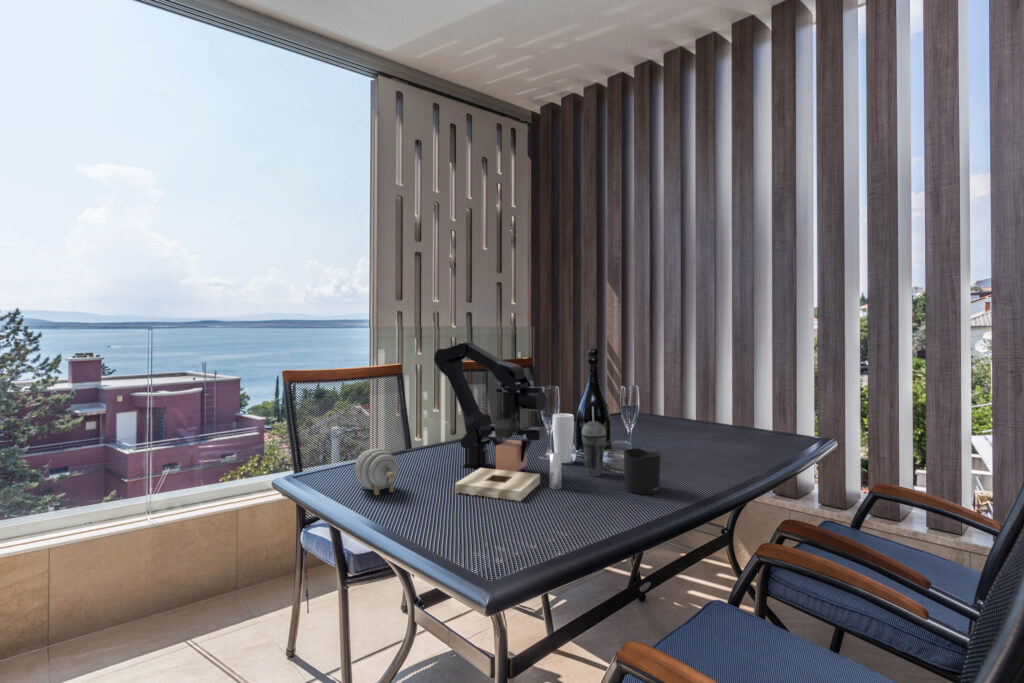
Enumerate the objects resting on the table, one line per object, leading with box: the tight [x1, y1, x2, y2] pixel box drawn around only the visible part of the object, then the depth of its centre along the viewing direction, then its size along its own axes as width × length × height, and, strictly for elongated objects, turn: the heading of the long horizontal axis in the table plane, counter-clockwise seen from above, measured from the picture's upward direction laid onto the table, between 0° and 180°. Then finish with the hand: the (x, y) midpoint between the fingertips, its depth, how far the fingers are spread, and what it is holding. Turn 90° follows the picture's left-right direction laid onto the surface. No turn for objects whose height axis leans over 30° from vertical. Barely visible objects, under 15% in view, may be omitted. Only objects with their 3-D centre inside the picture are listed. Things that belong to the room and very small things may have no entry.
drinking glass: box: [551, 412, 575, 464], centre depth 167 cm, size 7×7×15 cm
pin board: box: [454, 467, 541, 502], centre depth 140 cm, size 18×16×2 cm
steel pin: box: [549, 452, 563, 490], centre depth 141 cm, size 3×3×9 cm
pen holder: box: [623, 447, 662, 495], centre depth 139 cm, size 9×9×10 cm
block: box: [495, 439, 528, 472], centre depth 155 cm, size 6×9×7 cm
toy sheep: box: [354, 448, 399, 496], centre depth 138 cm, size 11×17×11 cm, turn 46°
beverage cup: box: [581, 406, 608, 477], centre depth 153 cm, size 7×7×20 cm
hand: (511, 460), depth 155 cm, fingers closed on block, 6 cm apart
